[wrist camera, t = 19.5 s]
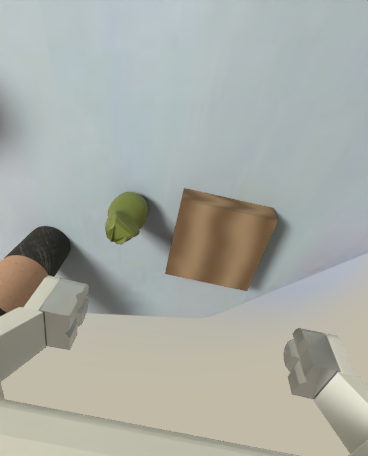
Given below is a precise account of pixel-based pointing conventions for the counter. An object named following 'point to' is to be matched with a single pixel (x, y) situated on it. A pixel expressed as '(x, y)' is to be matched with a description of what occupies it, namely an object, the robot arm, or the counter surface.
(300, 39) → the counter surface
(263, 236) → the block
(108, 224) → the pear
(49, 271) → the travel mug
